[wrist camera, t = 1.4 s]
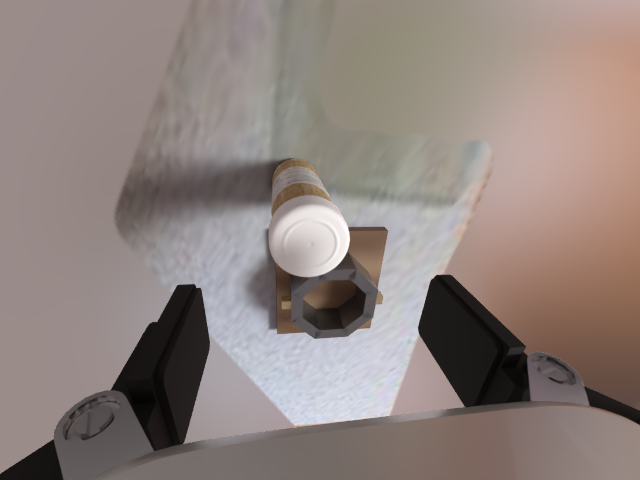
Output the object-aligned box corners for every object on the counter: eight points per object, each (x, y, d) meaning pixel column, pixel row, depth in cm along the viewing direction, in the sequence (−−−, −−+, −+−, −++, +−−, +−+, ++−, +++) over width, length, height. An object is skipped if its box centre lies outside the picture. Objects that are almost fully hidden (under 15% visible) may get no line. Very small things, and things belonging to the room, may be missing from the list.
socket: (281, 253, 29) (281, 271, 26) (379, 251, 31) (391, 268, 28) (281, 318, 33) (282, 340, 30) (368, 313, 35) (377, 334, 32)
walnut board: (275, 227, 29) (275, 232, 28) (384, 227, 31) (387, 230, 30) (277, 328, 35) (277, 334, 34) (367, 322, 37) (370, 328, 36)
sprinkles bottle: (303, 210, 28) (323, 291, 16) (263, 189, 27) (252, 260, 15) (327, 172, 27) (367, 230, 15) (286, 147, 25) (295, 189, 13)
